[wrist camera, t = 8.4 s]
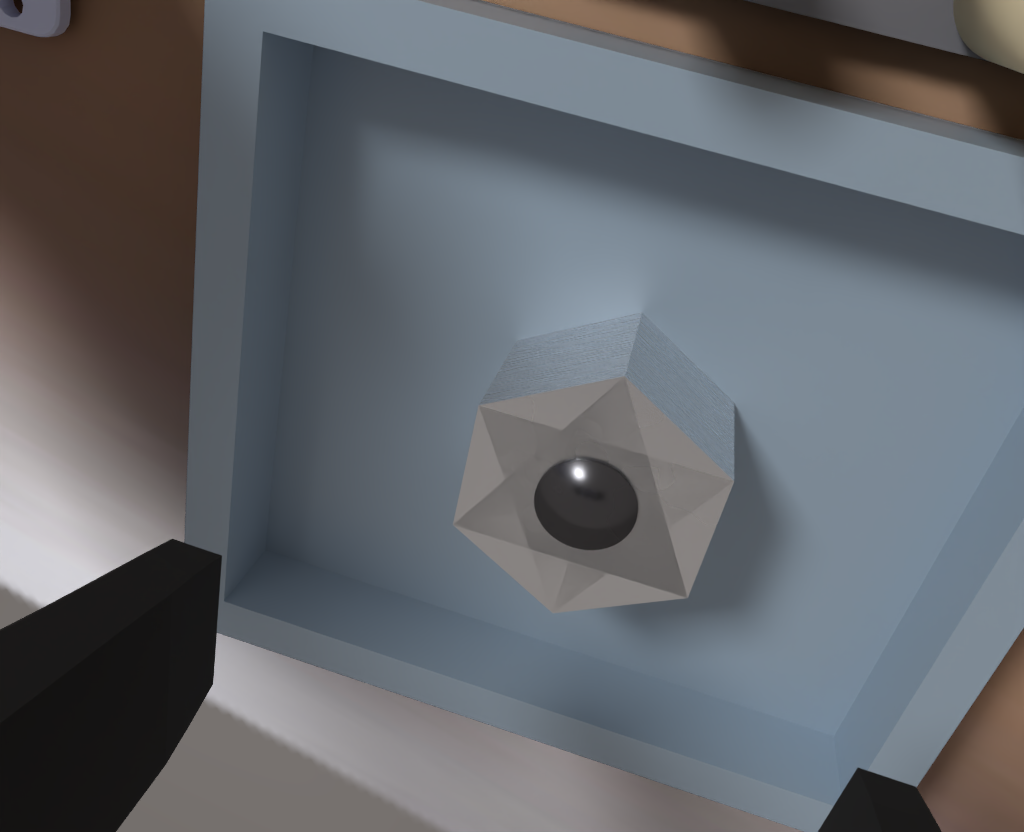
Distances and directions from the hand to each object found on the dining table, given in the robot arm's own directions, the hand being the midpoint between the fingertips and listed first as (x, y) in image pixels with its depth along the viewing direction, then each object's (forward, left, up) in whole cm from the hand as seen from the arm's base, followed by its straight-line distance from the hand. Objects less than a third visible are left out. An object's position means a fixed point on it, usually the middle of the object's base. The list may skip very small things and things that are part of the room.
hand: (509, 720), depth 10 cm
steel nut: (0, -1, -9) cm, 9 cm away
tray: (0, -1, -9) cm, 9 cm away
